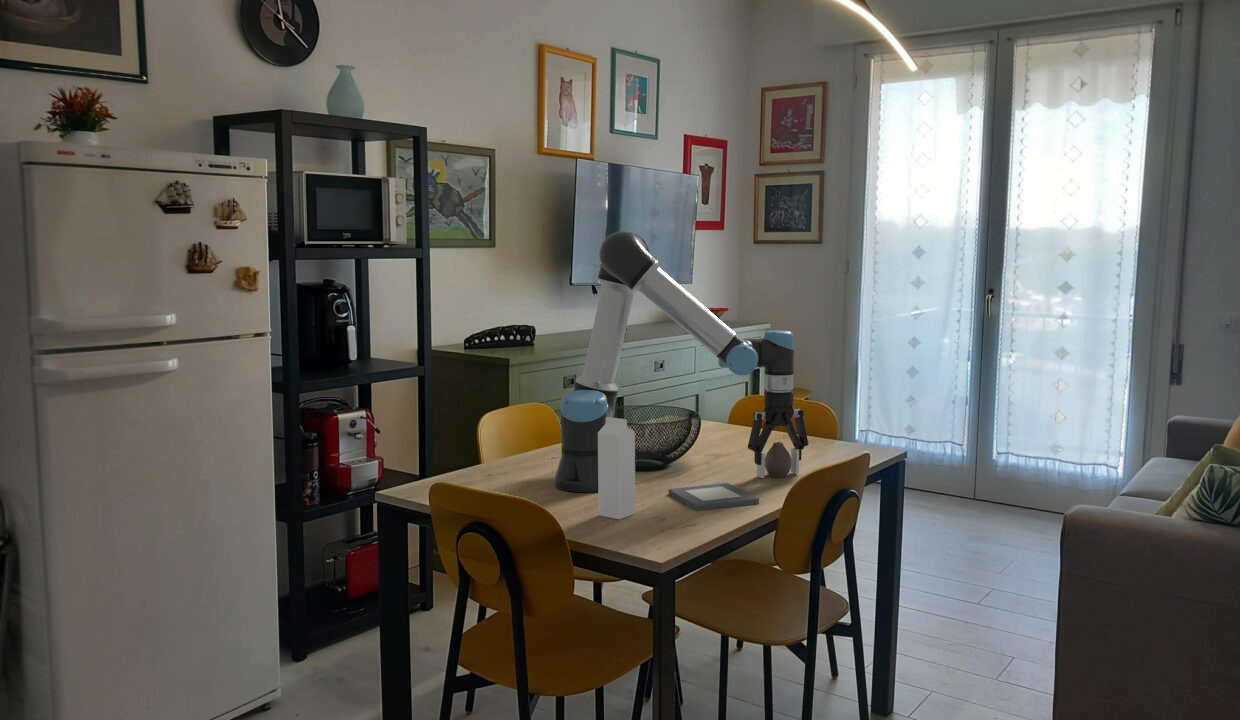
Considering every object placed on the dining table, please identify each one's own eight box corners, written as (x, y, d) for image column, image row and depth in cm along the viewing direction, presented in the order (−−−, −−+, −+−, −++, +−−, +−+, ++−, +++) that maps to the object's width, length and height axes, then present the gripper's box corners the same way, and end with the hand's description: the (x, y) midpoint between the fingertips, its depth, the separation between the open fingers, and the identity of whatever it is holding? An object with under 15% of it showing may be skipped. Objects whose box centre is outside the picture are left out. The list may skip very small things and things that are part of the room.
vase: (793, 478, 243) (793, 445, 242) (766, 479, 244) (766, 445, 243) (788, 472, 250) (789, 440, 249) (762, 472, 250) (763, 440, 249)
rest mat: (697, 510, 214) (697, 505, 214) (668, 493, 229) (668, 488, 229) (758, 503, 220) (759, 498, 220) (727, 487, 235) (727, 482, 235)
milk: (614, 509, 216) (613, 414, 214) (635, 514, 212) (635, 417, 210) (597, 515, 211) (597, 418, 209) (619, 520, 207) (618, 421, 205)
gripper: (748, 394, 237) (747, 482, 240) (823, 389, 245) (822, 473, 247) (734, 390, 244) (733, 475, 246) (807, 385, 252) (806, 467, 254)
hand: (777, 474), depth 247 cm, fingers open, 9 cm apart
